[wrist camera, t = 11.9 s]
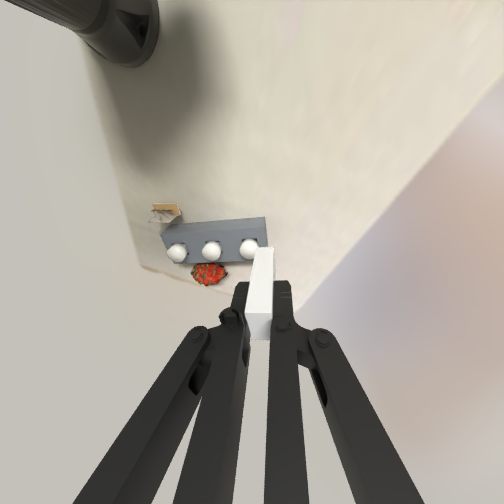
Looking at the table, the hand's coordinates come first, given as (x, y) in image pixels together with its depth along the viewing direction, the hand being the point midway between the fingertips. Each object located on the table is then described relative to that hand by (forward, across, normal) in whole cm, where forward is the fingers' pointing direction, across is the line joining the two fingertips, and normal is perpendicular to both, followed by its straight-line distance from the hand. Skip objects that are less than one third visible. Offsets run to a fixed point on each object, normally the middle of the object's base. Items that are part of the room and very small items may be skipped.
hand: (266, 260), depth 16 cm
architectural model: (+33, -29, -5) cm, 44 cm away
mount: (+32, -17, -15) cm, 40 cm away
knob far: (+31, -27, -15) cm, 44 cm away
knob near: (+32, -7, -15) cm, 36 cm away
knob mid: (+32, -17, -15) cm, 39 cm away
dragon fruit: (+33, -22, -26) cm, 47 cm away
